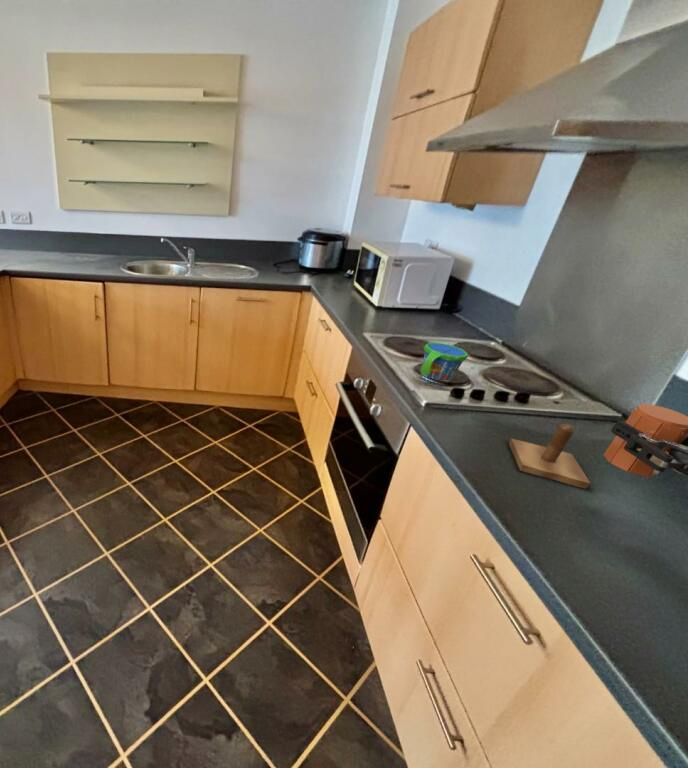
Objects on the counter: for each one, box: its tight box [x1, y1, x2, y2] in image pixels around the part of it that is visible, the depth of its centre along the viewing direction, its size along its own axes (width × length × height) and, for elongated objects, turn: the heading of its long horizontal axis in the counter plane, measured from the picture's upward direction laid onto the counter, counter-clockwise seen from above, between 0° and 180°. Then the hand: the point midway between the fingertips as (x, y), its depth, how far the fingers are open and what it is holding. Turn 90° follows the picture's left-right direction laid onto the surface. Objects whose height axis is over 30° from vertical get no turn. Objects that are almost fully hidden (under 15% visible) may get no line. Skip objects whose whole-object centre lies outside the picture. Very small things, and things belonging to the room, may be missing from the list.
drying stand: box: [508, 423, 591, 490], centre depth 85 cm, size 11×11×10 cm
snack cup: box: [420, 342, 469, 387], centre depth 120 cm, size 16×10×10 cm
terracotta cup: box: [603, 403, 688, 478], centre depth 67 cm, size 6×6×10 cm
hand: (636, 427), depth 69 cm, fingers closed on terracotta cup, 6 cm apart
